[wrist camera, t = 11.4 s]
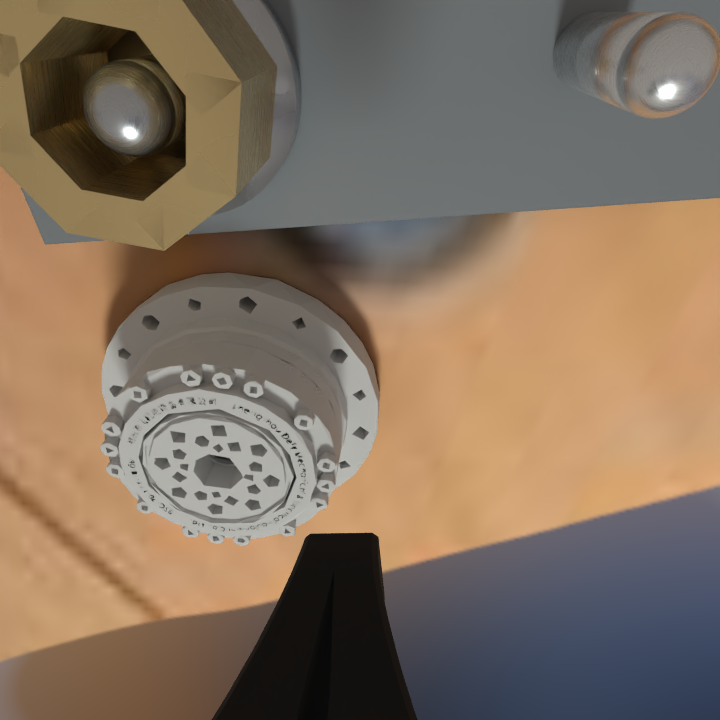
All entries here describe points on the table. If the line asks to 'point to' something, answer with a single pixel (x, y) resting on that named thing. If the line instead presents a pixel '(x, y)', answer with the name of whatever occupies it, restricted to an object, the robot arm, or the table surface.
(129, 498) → the table surface
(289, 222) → the base board
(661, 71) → the stand rod
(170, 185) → the collar
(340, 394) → the mechanical component
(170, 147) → the hub
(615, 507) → the table surface
